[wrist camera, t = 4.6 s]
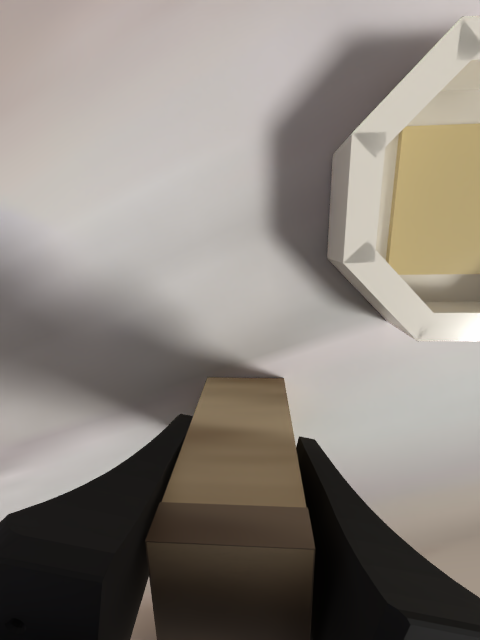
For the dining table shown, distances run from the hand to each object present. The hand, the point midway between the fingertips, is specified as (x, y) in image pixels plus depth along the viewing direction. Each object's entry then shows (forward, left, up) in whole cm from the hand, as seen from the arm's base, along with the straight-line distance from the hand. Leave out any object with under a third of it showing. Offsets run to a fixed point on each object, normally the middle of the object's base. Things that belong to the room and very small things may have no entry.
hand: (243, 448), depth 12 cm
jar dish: (+9, -8, -3) cm, 12 cm away
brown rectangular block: (0, 0, -3) cm, 3 cm away
